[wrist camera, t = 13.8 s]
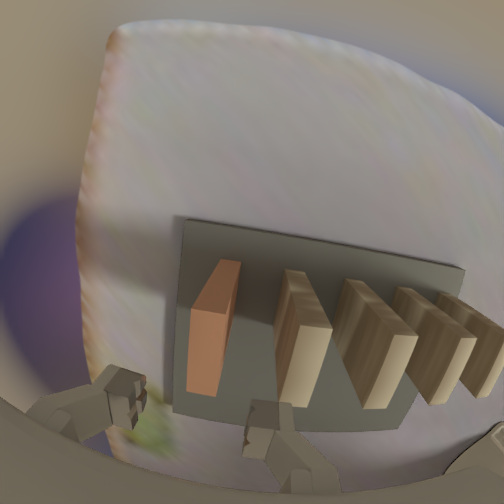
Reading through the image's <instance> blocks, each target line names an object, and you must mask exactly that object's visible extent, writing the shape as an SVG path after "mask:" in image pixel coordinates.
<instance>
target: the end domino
mask: <svg viewBox="0 0 504 504" xmlns="http://www.w3.org/2000/svg"><path fill="white" fill-rule="evenodd" d="M240 268H241V262H239V261H233V260H226V259H221V260H220V261H219V263H218V264H217V266H216V268H215V269H214V271H213V273H212V274H211V276H210V278H209V279H208V281H207V283H206V284H205V286H204V288H203V289H202V291H201V293H200V294H199V296H198V298H197V299H196V301H195V303H194V305H193V306H192V308H191V316H190V331H189V346H188V364H187V387H186V391H187V392H192V393H197V394H203V395H208V396H214V397H216V394H217V390H218V385H219V381H220V376H221V372H222V367H223V363H224V358H225V354H226V349H227V345H228V340H229V336H230V332H231V327H232V323H233V317H234V310H235V303H236V296H237V289H238V282H239V275H240Z"/></svg>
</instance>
